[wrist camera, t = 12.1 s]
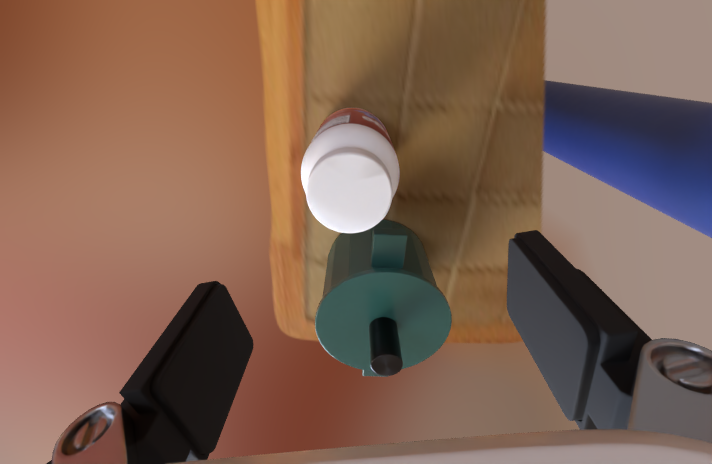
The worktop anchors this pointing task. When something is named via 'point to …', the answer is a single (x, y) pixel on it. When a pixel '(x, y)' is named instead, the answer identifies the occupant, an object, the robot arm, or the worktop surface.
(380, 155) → the pill bottle
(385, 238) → the pot
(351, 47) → the worktop surface
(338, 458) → the robot arm
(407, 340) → the pot lid
